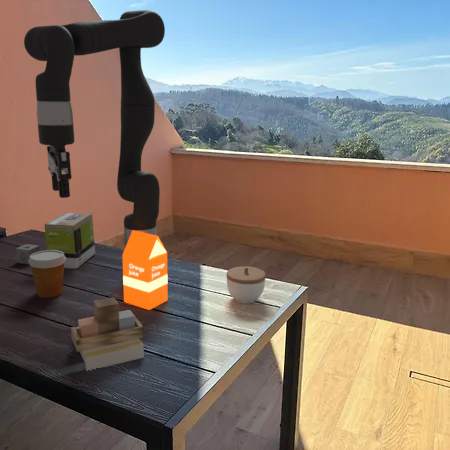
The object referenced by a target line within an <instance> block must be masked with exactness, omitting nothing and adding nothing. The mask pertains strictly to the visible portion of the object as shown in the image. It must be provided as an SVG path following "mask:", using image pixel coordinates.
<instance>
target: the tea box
mask: <svg viewBox="0 0 450 450" xmlns="http://www.w3.org/2000/svg"><path fill="white" fill-rule="evenodd" d="M93 220H94V219H93V214H92V213H74V212H65V213H63V214H61V215H59V216H57V217H55V218H54V219H51V220H50V221H47V222H46V223H44V234H45V244H46V250H58V251H61V252H63V253H64V256H65V257H66V260H65V262H64V269H79V267H80V266H82V265H83V264H85V262H87V261H88V260H89V259H91V258H92V257H93V256H94V255H95V254H96V246H95V233H94V223H93V222H94V221H93Z"/></svg>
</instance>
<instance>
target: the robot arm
mask: <svg viewBox="0 0 450 450" xmlns="http://www.w3.org/2000/svg"><path fill="white" fill-rule="evenodd" d="M165 29H166V28H165V23H164V20H163V18H162V16H161V15H160V14H159V13H157V12H156V11H154V10H153V11H152V10H150V9H144V10H141V9H140V10H139V9H138V10H130V11H125V12H123V13H122V14H121V15H120V17H119V19H106V20H105V19H104V20H103V19H102V20H100V19H99V20H96V19H95V20H85V21H77V22H72V23H69V24H68V23H67V24H61V25H60V24H54V25H51V24H50V25H41V26H34V27H32V28H30V29H28V31H27V32H26V34H25V35H24V39H23V44H24V48H25V51H26V53H27V54H28V55H29V56H30V57H32V58H33V59H34V60H36V61H40V62H46V63H45V69H44V71H43V72H41V73H38V74H37V75H36V77H35V96H36V118H37V120H36V121H37V131H38V132H37V133H38V143H39V144H41V145H44V146H46V151H47V162H48V163H47V165H48V167H47V169H48V171H49V174H50V176H51V187H52V190H53V191H54V192H58V196H59V198H61V199H63V198H65V199H67V198H69V197H70V196H71V191H70V190H71V189H70V181H71V180H72V177H73V175H72V170H71V169H72V168H71V157H70V156H71V154H70V152H69V151H66V146H67V145H74V144H75V129H74V113H73V109H72V103H71V102H72V101H71V90H70V88H71V87H70V80H71V76H72V73H73V72H72V71H73V64H74V60H75V56H86V55H93V54H98V53H101V52H107V51H110V50H111V51H112V50H114V49H115V50H116V49H119V50H118V51H119V61H120V62H119V63H120V87H121V88H120V89H121V91H120V147H119V149H120V150H119V161H118V167H117V168H118V169H117V179H116V180H117V181H116V187H117V192H118V194H119V197H120V198H121V199H122V200H124V201H127V202H130V203H133V211H132V212H131V213H129V214H127V215H125V216H124V219H123V232H124V233H123V235H124V249H125V248H126V245H127V243H128V240H129V238H130V235H131V233H132V230H133V231H138V232H142V233H147V234H151V235H156V236H157V220H158V217H159V214H160V198H161V197H160V192H161V191H160V183H159V180H158V178H157V176H156V175H155V174H154V173H151V172H148V171H142V155H143V150H144V148H145V145H146V143H147V141H148V139H149V137H150V135H151V134H152V132H153V128H154V125H155V115H156V114H155V111H156V110H155V108H156V103H155V96H154V93H153V91H152V89H151V87H150V84H149V82H148V81H147V79H146V76H145V74H144V71H143V68H142V59H141V58H142V57H141V56H142V55H141V54H142V53H141V50H142V49H151V48H155V47H158V46H159V45H160V44H161V43H162V42H163V40H164V38H165V32H166V30H165Z"/></svg>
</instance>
